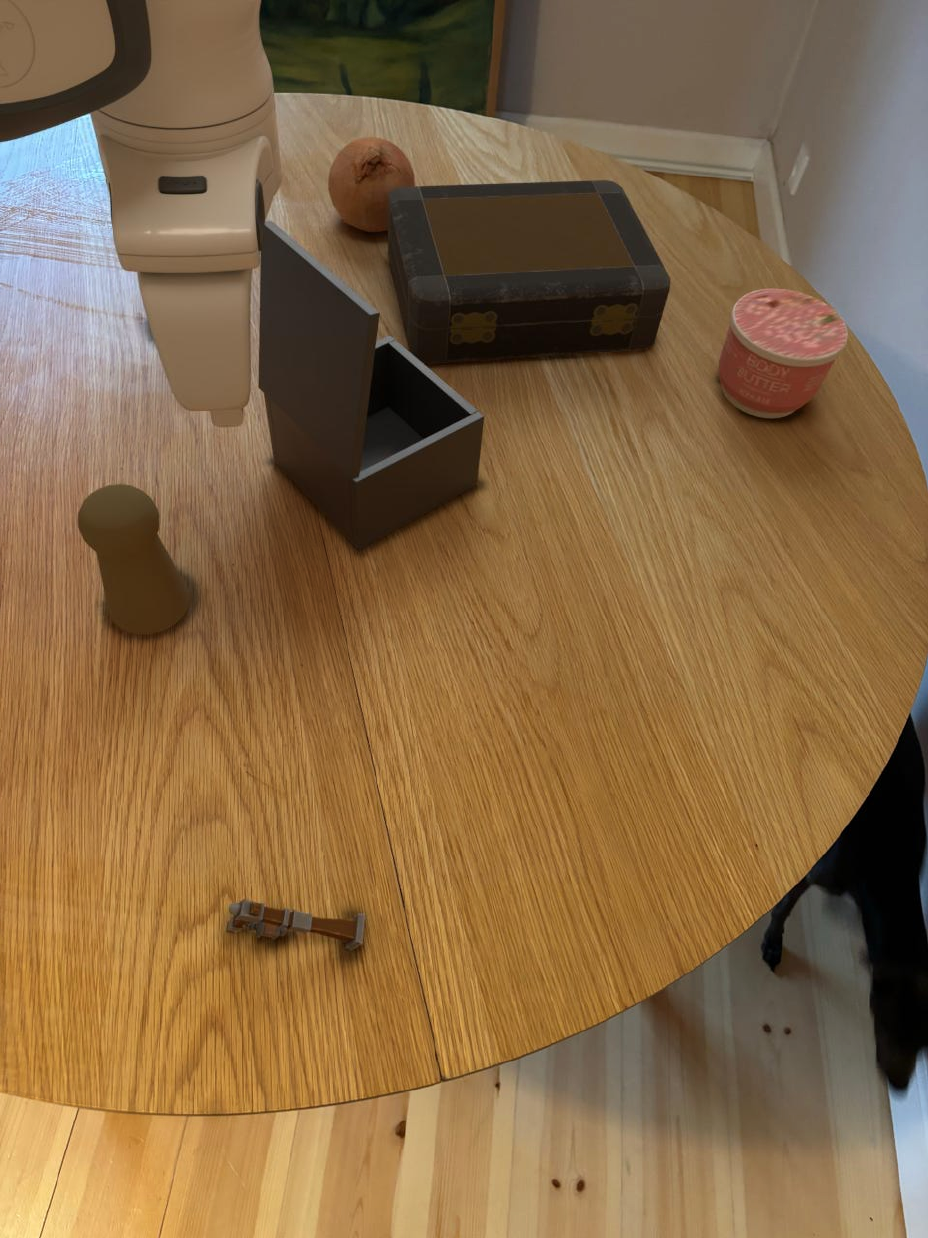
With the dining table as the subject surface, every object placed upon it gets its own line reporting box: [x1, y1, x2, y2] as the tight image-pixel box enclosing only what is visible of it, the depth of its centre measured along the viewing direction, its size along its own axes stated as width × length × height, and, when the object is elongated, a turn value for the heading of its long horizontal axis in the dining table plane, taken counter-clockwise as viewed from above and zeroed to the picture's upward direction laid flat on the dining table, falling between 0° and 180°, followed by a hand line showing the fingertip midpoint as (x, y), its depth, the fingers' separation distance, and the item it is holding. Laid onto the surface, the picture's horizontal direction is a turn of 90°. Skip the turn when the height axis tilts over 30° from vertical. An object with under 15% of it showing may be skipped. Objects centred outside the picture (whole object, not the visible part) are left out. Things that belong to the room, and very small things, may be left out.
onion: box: [327, 136, 416, 233], centre depth 97 cm, size 10×9×10 cm
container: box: [718, 288, 849, 419], centre depth 84 cm, size 10×10×8 cm
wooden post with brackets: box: [225, 898, 366, 952], centre depth 53 cm, size 2×8×4 cm, turn 88°
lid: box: [258, 220, 381, 480], centre depth 63 cm, size 13×13×1 cm
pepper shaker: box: [77, 483, 191, 636], centre depth 63 cm, size 6×6×11 cm
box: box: [263, 334, 485, 551], centre depth 74 cm, size 13×13×8 cm
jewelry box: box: [387, 179, 671, 365], centre depth 90 cm, size 25×20×8 cm
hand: (229, 368), depth 56 cm, fingers open, 8 cm apart
